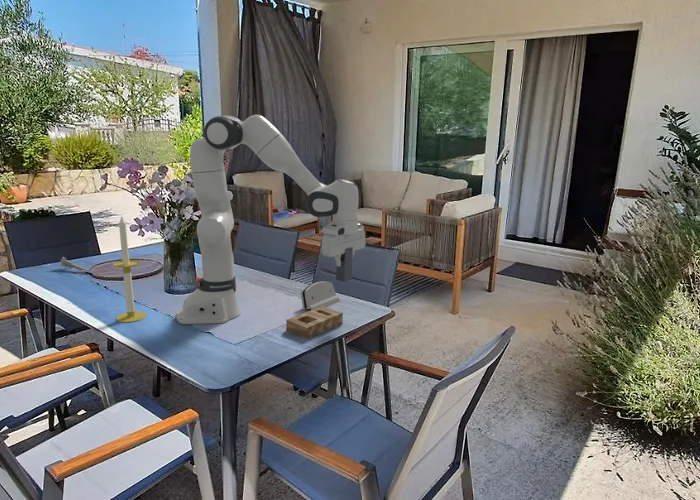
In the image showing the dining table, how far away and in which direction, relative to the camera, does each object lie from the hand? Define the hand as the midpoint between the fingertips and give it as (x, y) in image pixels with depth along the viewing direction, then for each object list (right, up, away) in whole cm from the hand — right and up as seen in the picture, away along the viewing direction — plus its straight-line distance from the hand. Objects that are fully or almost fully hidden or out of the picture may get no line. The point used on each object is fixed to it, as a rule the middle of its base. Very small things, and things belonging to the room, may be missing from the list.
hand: (344, 264), depth 173 cm
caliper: (-126, -5, +55) cm, 138 cm away
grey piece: (-10, -17, +19) cm, 27 cm away
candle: (-77, -19, +2) cm, 80 cm away
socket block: (-10, -22, -3) cm, 24 cm away
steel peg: (0, -5, +1) cm, 6 cm away
